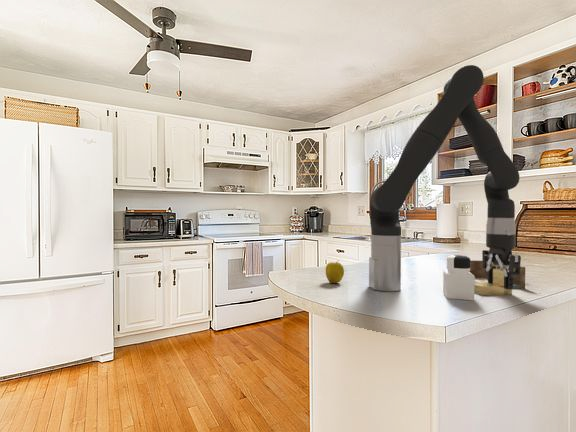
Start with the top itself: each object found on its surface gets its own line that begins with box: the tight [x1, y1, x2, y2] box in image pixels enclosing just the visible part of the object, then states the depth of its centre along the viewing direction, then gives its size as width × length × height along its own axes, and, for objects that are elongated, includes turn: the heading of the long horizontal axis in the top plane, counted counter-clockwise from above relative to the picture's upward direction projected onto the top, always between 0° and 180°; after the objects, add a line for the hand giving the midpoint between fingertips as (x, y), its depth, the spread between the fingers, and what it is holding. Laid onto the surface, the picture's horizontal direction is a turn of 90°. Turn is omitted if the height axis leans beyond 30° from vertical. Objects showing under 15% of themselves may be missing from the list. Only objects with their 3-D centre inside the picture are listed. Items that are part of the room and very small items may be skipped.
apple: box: [325, 260, 345, 284], centre depth 110 cm, size 6×6×8 cm
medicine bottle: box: [442, 254, 475, 301], centre depth 93 cm, size 7×7×12 cm
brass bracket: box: [474, 269, 513, 296], centre depth 99 cm, size 10×5×7 cm, turn 92°
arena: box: [469, 259, 526, 290], centre depth 112 cm, size 16×15×7 cm
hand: (499, 286), depth 99 cm, fingers open, 7 cm apart
